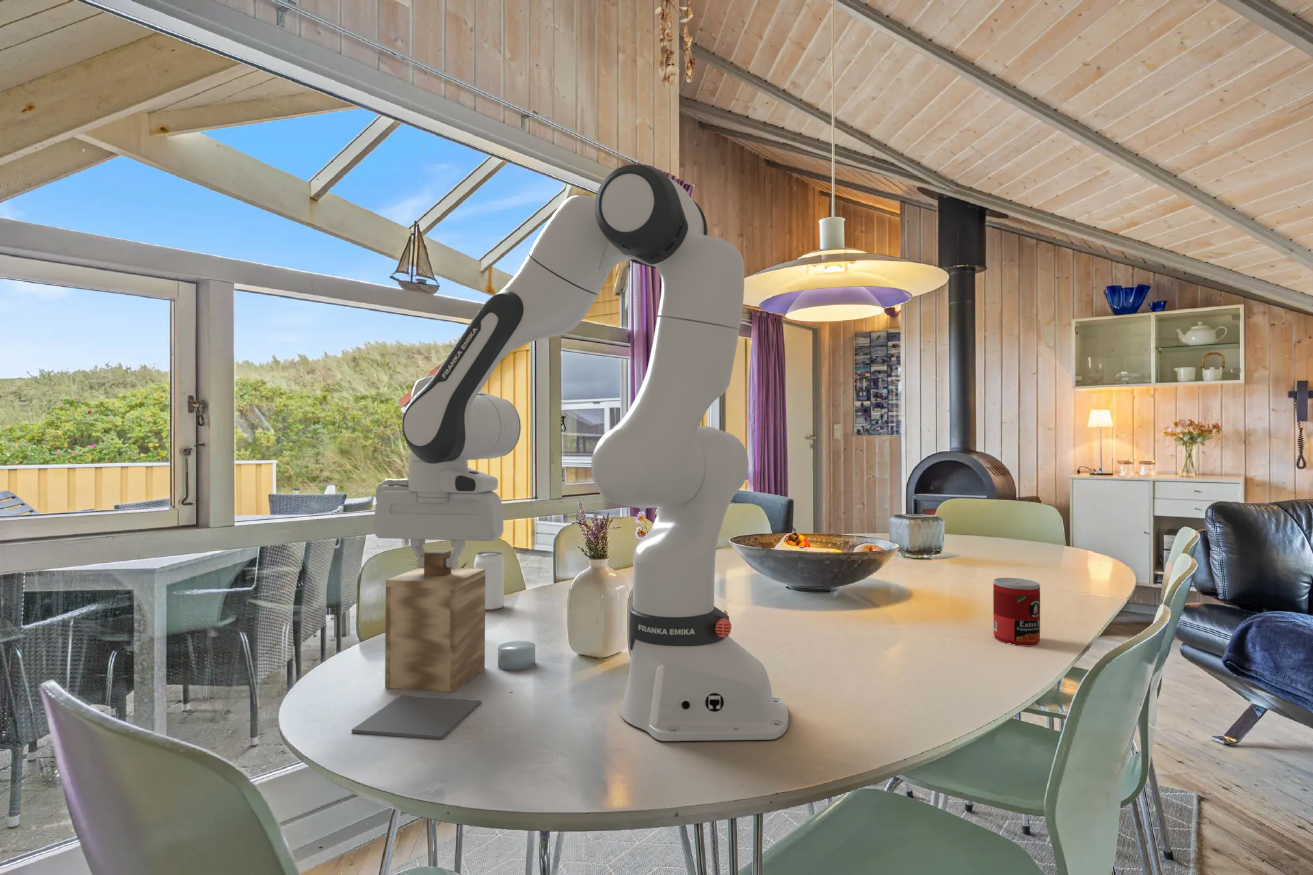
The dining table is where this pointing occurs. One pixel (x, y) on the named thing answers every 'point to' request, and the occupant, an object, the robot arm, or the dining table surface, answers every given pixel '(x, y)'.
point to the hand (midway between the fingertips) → (437, 568)
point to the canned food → (1016, 611)
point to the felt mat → (418, 717)
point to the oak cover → (434, 626)
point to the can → (492, 577)
